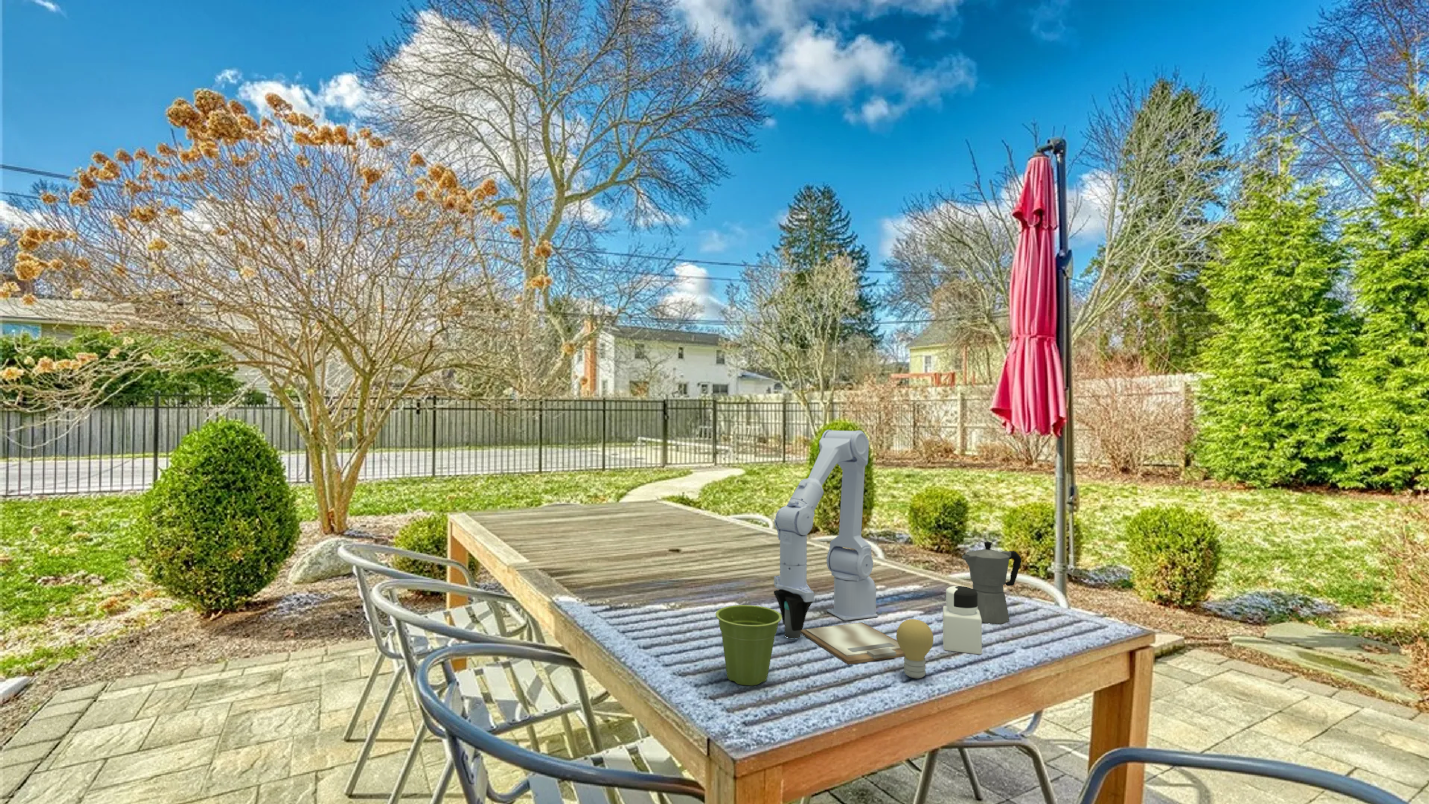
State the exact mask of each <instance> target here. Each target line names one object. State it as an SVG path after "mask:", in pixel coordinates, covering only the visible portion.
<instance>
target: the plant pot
mask: <svg viewBox="0 0 1429 804" xmlns="http://www.w3.org/2000/svg"><path fill="white" fill-rule="evenodd" d="M715 617H716V619H717V620H718V625H719V626H718V627H719V629H720V632H721V639H722V648H723V654H724V655H723V656H724V664H725V670H726V676H727V679H728V680H729V681H731V682H735V683H736V684H737V685H740V686H750V687H751V686H757V685H760V684H761V683H763V682H764V683H765V682H766V681H767V680H768V677H769V671H770V666H771V660H772V654H773V650H774V649H773V648H774V643H775V637H776V634H777V632H778V627H779V624H780V622H781V621H782V615H781V612H779V611H778V610H776V609H772V608H769V607H766V606H761V605H750V604H735V605H729V606H724V607H722V608H720V609H718V610H716V612H715Z"/></svg>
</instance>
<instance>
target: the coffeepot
mask: <svg viewBox="0 0 1429 804" xmlns="http://www.w3.org/2000/svg"><path fill="white" fill-rule="evenodd" d="M983 543H984V549H978V550H977V549H976V550H970V551H967V552H966V553H965V554H963V555H962V556H961V558H962V559H963V560H964V561H965V563H966V565H967V566H968V569H969V575H970V581H971V582H972V589H974V590H975V591H976V592H977V593H978V610H979V612H980V616H981V619H982V624H988V623H990V624H989V625H1003V624H1007V623H1009V621H1010V616H1009V609H1008V604H1007V599H1006V593H1005V592H1004V586H1007V587H1012V586H1014V585H1015V583H1016V581H1017V577H1018V574H1019V571H1020V567H1021V564H1022V558H1021V556H1020V555H1019V554H1018V552H1017V551H1015V550H1009V551H1007V550H1004V551H1003V550H1001V551H997V550H993V549H991V548H992V542H991V541H984V542H983ZM1010 560H1013V562H1012V569H1011V572H1010V576H1009V577H1010V580H1009V581H1007V574H1008V570H1009V569H1008V568H1009V564H1010V563H1009V562H1010Z"/></svg>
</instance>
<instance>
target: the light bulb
mask: <svg viewBox="0 0 1429 804" xmlns="http://www.w3.org/2000/svg"><path fill="white" fill-rule="evenodd" d="M896 640H897V642H898V644H899V646H900V648H901V650H902V651H903V652H904V654H905V656H903V661H904V662H903V666H904V667H903V673H904V674H905V675H906V676H907V677H909V678H912V679H922V678H923V677H925V676H926V674H927V673H926V672H927V671H926V669H927V668H926V662H927V661H926V659H925V657H926V656H927V655H928V654H929V652H931V650H932V647H933V645H934V634H933V631H932V629H931V628H930V626H929V625H928V624H927V623H926V622H924V621H923V620H920V619H918V618H917V619H916V618H910V619H905V620H904V621H902V622H901V623H900V624H899V625H898V627H897V631H896Z"/></svg>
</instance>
